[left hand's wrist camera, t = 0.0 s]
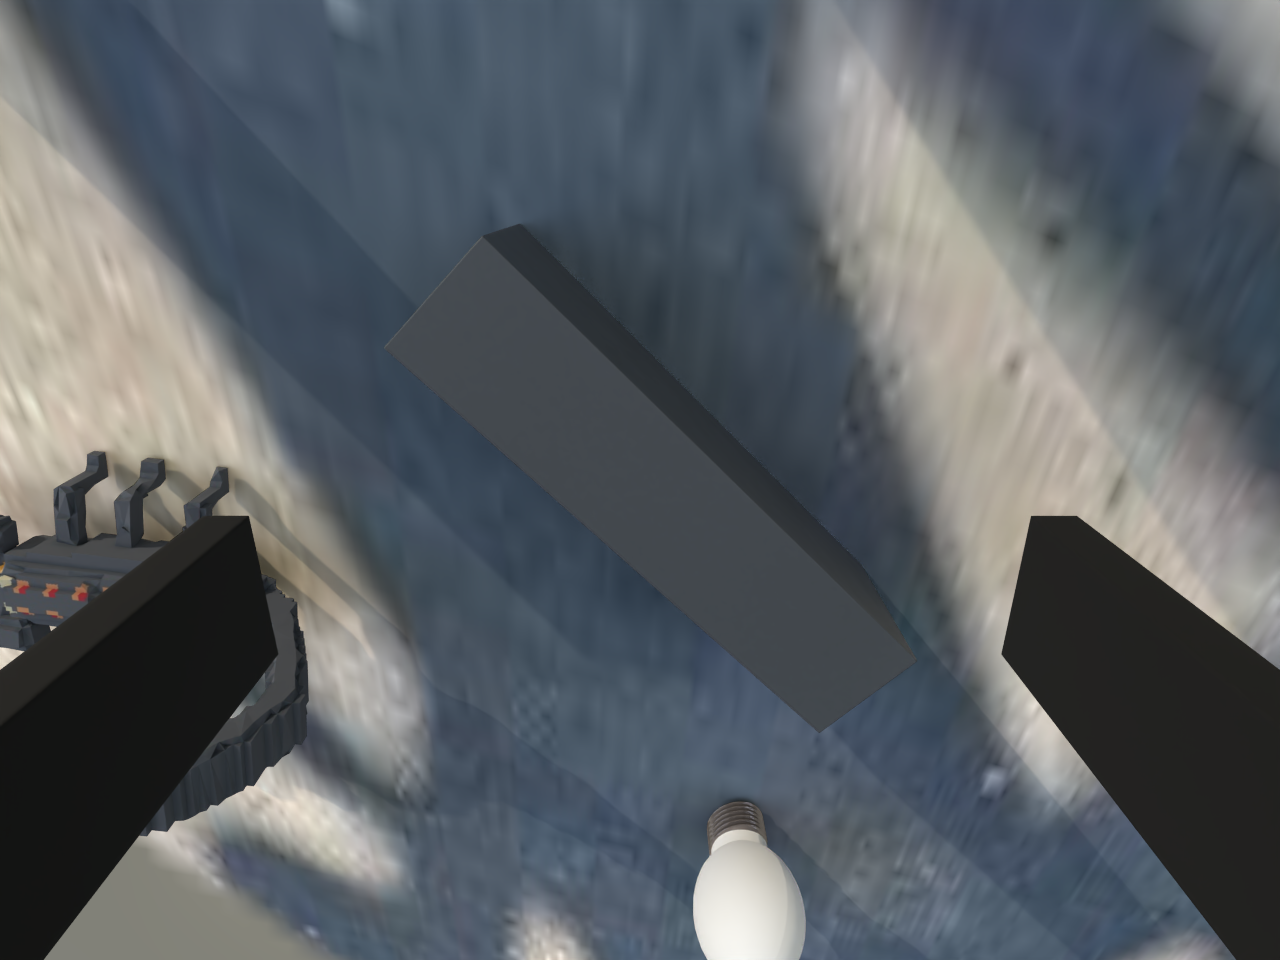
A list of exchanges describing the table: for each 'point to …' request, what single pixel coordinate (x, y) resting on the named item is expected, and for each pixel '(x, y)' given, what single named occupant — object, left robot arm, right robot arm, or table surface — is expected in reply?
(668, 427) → the box
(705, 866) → the light bulb
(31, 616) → the toy
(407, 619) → the table surface
